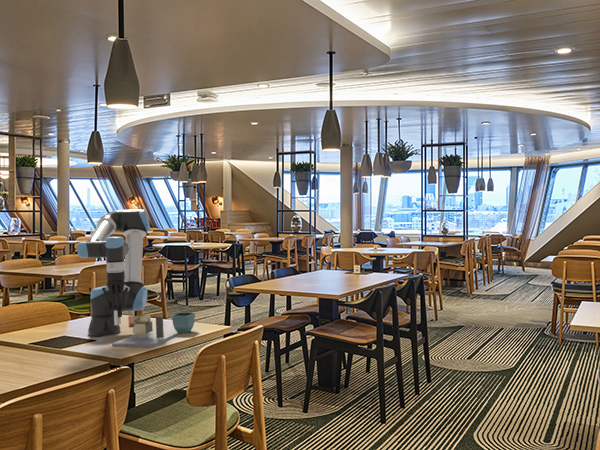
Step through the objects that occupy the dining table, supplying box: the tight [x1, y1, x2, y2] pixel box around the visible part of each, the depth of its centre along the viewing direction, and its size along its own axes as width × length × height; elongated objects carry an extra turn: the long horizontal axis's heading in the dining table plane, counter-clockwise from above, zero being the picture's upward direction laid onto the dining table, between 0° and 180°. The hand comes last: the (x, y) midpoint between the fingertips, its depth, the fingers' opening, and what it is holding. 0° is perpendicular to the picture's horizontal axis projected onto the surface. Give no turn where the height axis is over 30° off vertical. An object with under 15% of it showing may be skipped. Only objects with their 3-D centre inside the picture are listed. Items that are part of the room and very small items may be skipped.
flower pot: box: [171, 311, 196, 334], centre depth 273 cm, size 9×9×9 cm
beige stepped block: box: [127, 314, 154, 335], centre depth 252 cm, size 14×7×9 cm, turn 167°
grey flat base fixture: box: [111, 315, 177, 348], centre depth 256 cm, size 20×22×11 cm
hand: (117, 324), depth 248 cm, fingers closed
